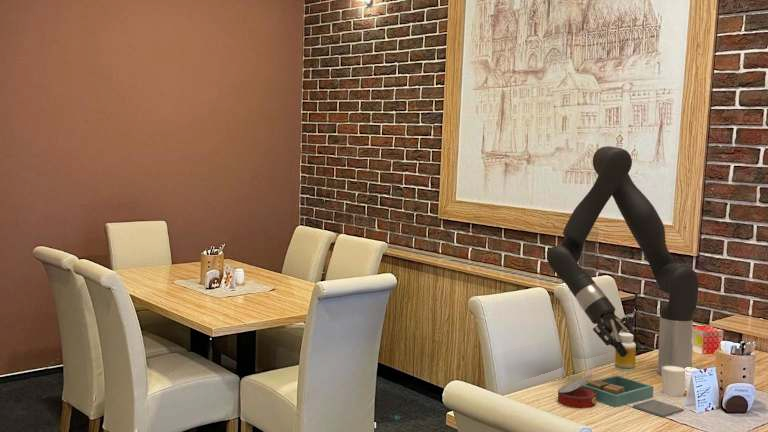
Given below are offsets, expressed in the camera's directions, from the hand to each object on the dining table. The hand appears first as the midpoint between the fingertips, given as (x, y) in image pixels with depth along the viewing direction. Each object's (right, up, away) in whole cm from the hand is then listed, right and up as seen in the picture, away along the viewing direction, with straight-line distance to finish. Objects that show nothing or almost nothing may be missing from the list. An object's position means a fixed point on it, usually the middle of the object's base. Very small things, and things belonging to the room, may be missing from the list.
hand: (631, 353), depth 204 cm
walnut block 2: (-6, -12, -4) cm, 14 cm away
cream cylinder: (+13, -12, +4) cm, 18 cm away
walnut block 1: (-10, -12, -1) cm, 15 cm away
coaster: (+3, -13, -10) cm, 17 cm away
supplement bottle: (-1, -5, +2) cm, 5 cm away
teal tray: (-4, -12, 0) cm, 12 cm away
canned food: (-17, -12, -6) cm, 21 cm away
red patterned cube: (+42, -9, +52) cm, 68 cm away
